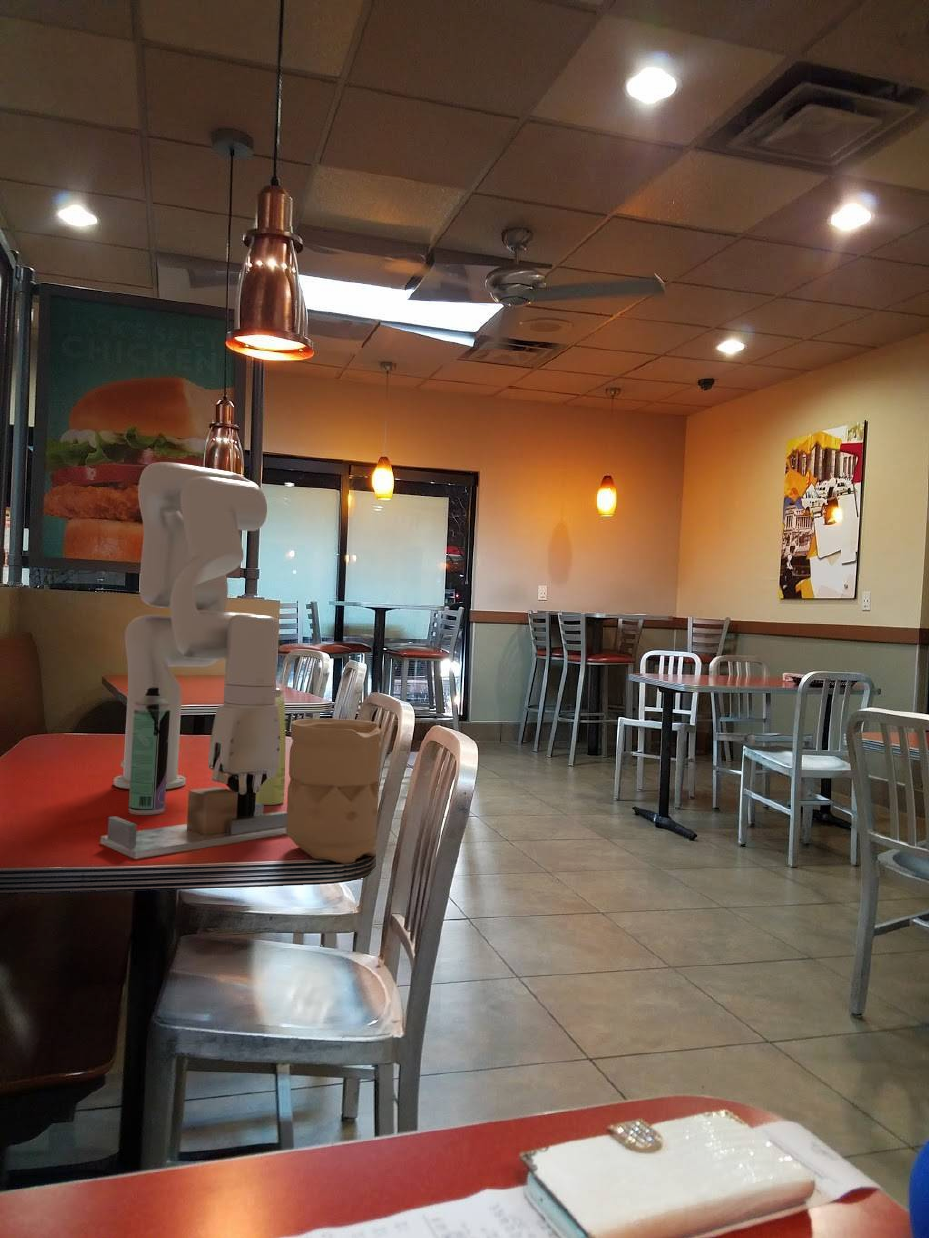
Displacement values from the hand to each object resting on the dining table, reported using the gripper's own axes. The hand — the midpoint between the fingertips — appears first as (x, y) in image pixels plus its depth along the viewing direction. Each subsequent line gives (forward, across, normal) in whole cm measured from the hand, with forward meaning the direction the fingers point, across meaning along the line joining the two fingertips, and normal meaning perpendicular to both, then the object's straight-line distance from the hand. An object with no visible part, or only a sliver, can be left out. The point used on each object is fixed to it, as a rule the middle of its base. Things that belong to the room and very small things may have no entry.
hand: (243, 818), depth 132 cm
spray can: (+2, +5, -20) cm, 21 cm away
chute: (+2, +7, 0) cm, 7 cm away
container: (+2, -3, +17) cm, 17 cm away
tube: (+2, -15, -15) cm, 21 cm away
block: (+1, +5, 0) cm, 5 cm away
